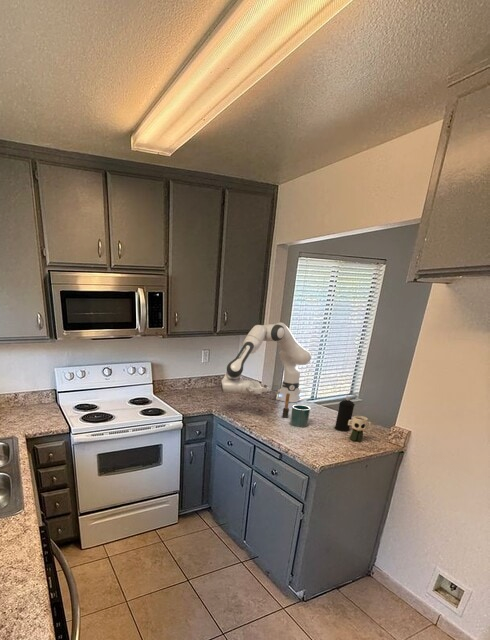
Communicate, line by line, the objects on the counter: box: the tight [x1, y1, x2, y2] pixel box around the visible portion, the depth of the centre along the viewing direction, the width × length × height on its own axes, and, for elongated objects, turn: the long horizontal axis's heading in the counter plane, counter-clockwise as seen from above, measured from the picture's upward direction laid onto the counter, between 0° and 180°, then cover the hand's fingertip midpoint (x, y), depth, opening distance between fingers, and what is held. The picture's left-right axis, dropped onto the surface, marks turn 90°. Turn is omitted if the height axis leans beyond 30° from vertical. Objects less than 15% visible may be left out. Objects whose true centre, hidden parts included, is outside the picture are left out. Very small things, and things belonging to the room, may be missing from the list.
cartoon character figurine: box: [348, 415, 372, 442], centre depth 196 cm, size 11×7×13 cm, turn 70°
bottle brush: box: [282, 393, 290, 419], centre depth 231 cm, size 4×4×16 cm
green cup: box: [289, 404, 311, 428], centre depth 219 cm, size 10×10×11 cm
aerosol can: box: [334, 395, 356, 432], centre depth 210 cm, size 8×8×20 cm
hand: (267, 387), depth 228 cm, fingers open, 8 cm apart
